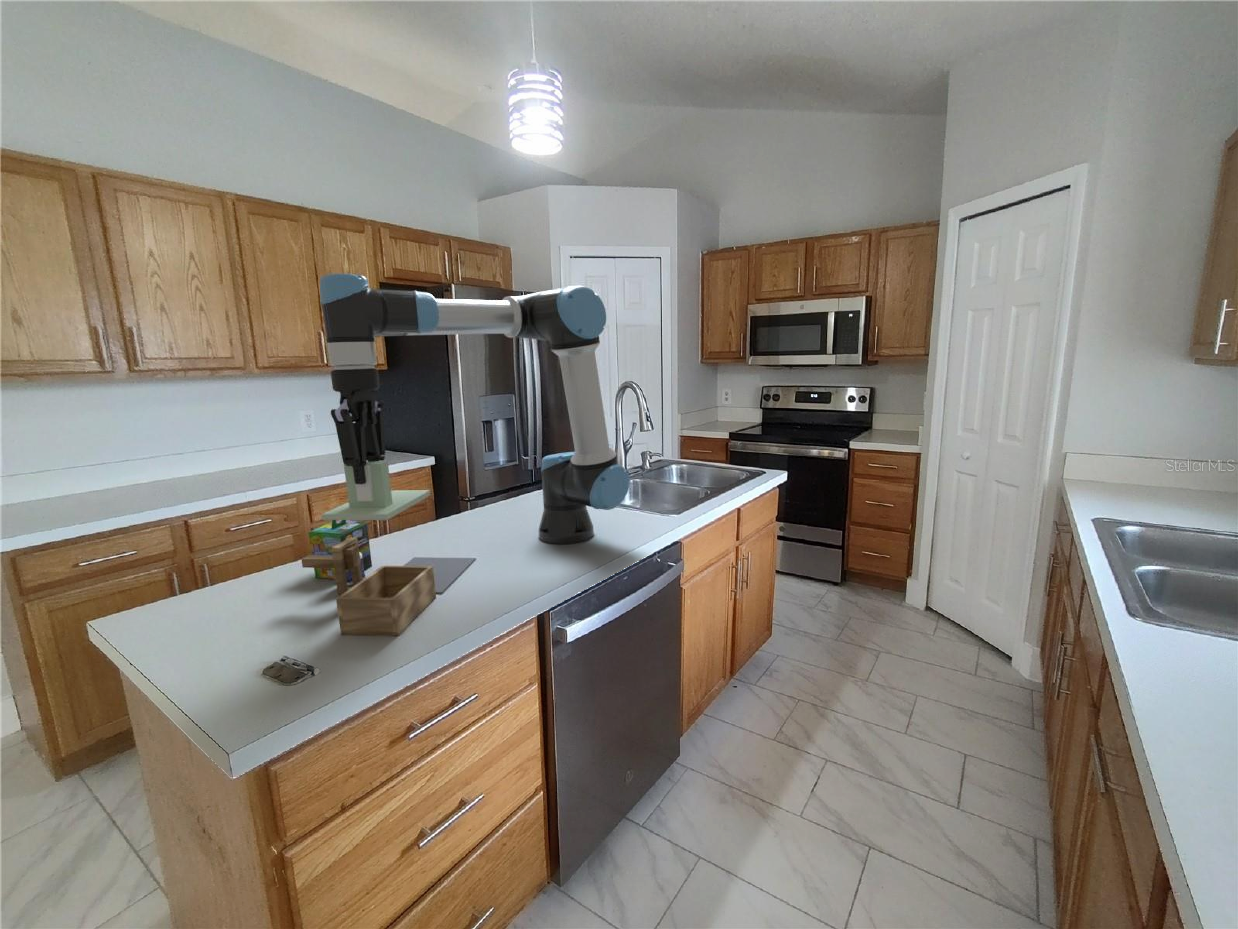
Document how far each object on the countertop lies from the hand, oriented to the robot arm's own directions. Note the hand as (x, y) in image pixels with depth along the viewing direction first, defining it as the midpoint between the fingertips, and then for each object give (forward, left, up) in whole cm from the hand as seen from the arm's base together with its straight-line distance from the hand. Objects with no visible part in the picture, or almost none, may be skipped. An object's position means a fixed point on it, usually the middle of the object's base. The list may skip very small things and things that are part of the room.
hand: (370, 498), depth 101 cm
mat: (+2, -22, -24) cm, 33 cm away
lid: (0, -3, -2) cm, 4 cm away
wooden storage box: (+3, -2, -24) cm, 25 cm away
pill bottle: (+16, -15, -25) cm, 33 cm away
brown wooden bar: (+14, -6, -16) cm, 22 cm away
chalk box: (+23, -23, -25) cm, 41 cm away
